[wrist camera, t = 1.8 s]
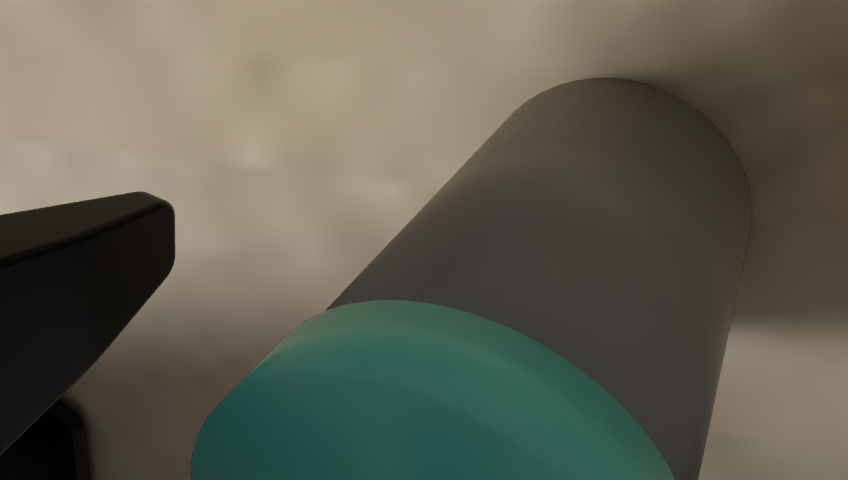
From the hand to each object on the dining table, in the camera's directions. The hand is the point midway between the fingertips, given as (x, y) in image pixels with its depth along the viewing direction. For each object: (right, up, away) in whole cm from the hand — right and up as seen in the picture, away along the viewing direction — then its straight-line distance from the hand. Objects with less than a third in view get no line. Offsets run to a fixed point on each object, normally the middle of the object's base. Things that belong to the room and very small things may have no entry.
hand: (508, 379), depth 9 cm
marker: (+2, +2, +3) cm, 4 cm away
